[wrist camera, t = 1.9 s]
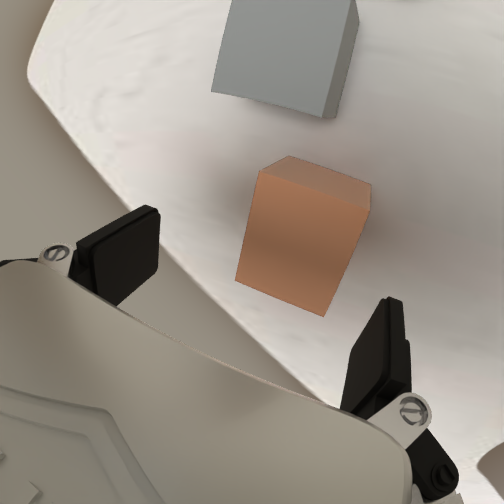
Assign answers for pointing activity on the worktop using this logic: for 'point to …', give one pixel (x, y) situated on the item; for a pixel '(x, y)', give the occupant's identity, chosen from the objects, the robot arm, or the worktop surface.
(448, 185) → the worktop surface
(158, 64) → the worktop surface
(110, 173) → the worktop surface
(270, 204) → the terracotta block
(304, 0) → the slate grey block
